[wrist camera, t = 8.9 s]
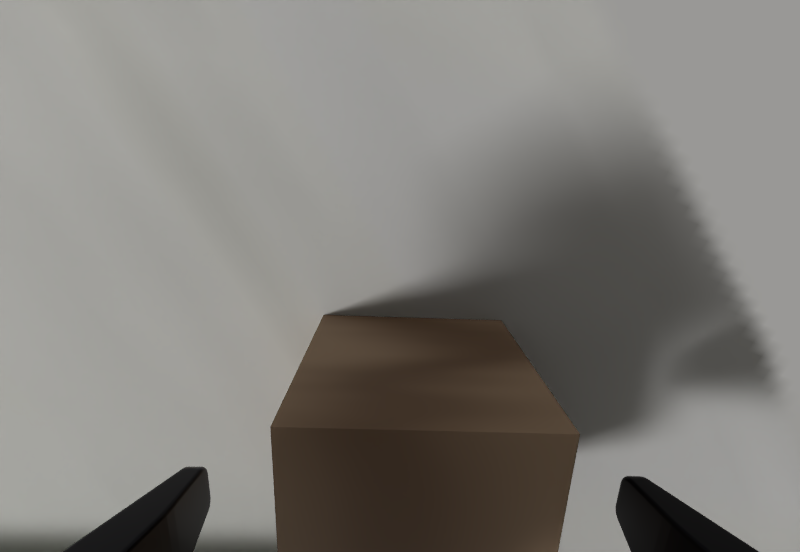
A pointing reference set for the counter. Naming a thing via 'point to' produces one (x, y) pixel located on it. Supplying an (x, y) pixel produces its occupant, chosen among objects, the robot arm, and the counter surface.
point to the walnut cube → (419, 442)
